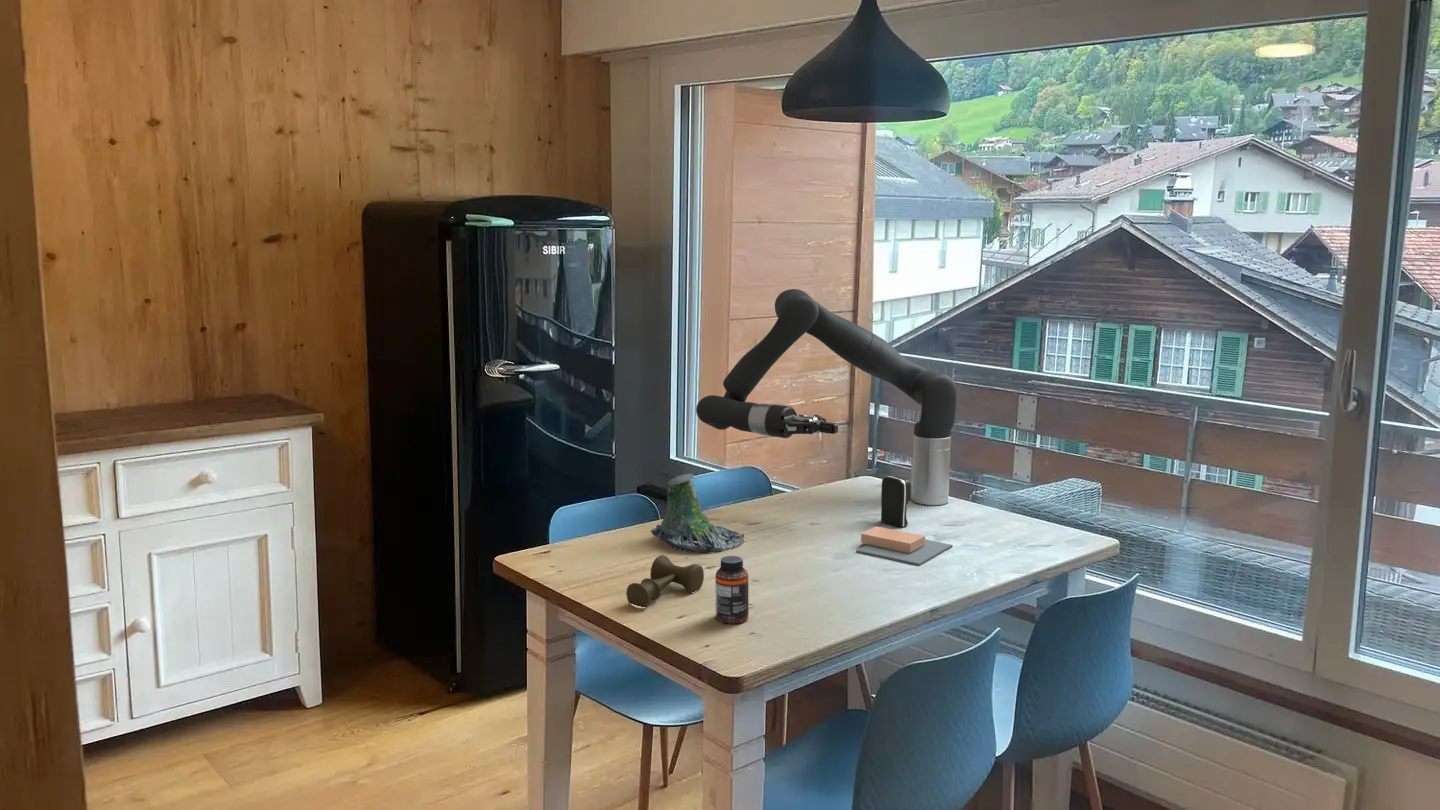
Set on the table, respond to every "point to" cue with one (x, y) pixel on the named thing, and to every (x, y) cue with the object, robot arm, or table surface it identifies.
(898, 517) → the battery charger
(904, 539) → the tile
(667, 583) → the kendama
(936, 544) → the mat
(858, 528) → the table surface
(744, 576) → the supplement bottle
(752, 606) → the table surface
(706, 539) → the tree stump
